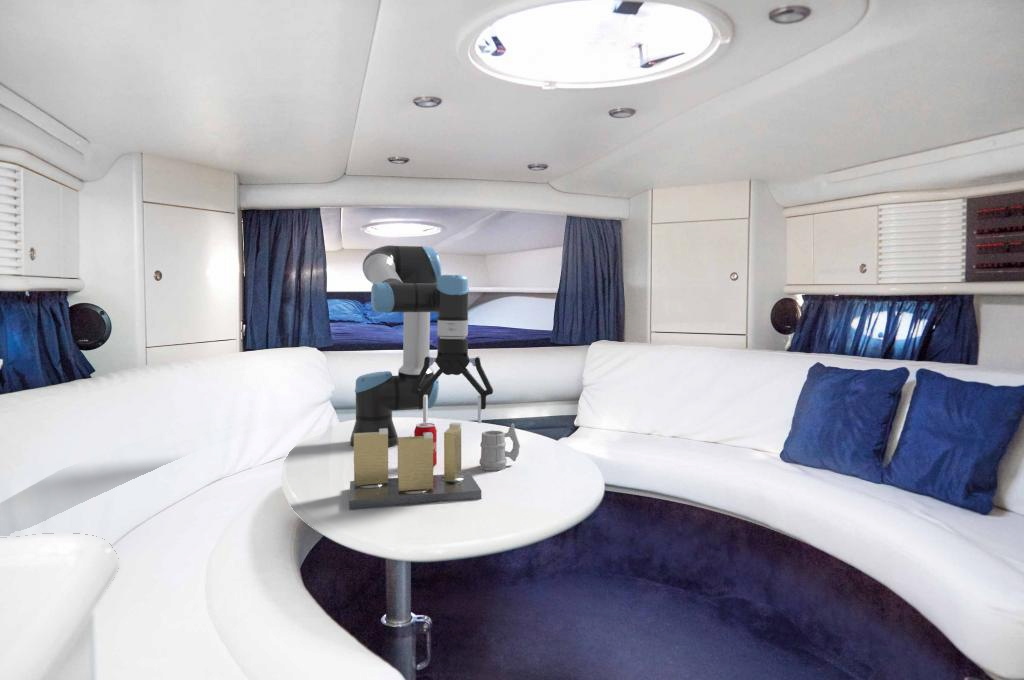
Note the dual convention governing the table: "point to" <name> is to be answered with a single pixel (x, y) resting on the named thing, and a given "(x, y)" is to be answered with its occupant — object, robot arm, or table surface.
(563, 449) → the table surface
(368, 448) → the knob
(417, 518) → the table surface
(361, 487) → the plate
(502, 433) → the mug
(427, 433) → the tan grey-ended block
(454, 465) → the tan upright panel
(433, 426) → the beverage can
